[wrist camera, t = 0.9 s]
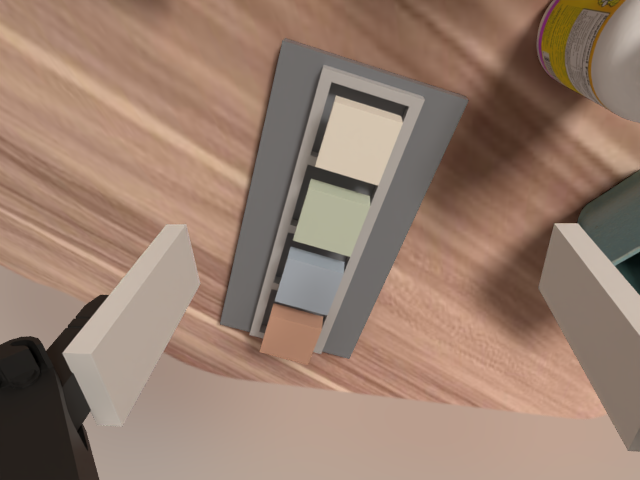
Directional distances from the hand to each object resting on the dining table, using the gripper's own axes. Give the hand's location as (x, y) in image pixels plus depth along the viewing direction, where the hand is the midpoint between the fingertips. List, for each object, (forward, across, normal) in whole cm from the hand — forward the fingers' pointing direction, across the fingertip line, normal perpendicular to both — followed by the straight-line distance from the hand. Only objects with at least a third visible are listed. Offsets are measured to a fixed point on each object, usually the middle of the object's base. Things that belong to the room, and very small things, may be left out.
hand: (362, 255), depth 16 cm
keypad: (+18, -3, -9) cm, 21 cm away
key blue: (+15, -4, -12) cm, 20 cm away
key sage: (+15, -2, -6) cm, 16 cm away
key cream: (+15, 0, 0) cm, 15 cm away
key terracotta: (+15, -6, -17) cm, 24 cm away
